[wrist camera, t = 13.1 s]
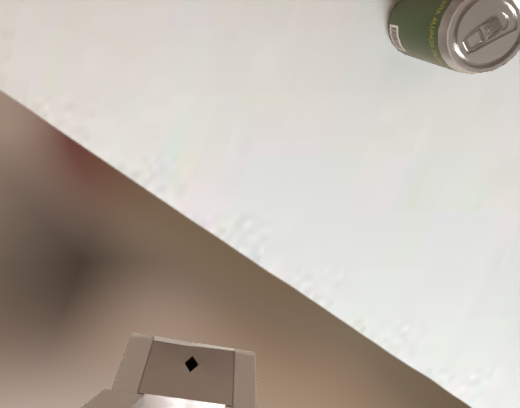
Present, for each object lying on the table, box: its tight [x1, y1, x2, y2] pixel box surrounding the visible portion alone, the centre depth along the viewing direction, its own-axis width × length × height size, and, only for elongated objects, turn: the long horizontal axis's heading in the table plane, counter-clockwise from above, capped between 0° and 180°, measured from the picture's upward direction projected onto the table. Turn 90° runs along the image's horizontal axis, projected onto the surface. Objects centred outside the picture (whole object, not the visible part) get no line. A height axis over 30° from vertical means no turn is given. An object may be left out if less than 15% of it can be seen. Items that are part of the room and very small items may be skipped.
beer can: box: [388, 0, 520, 74], centre depth 30 cm, size 5×5×12 cm
